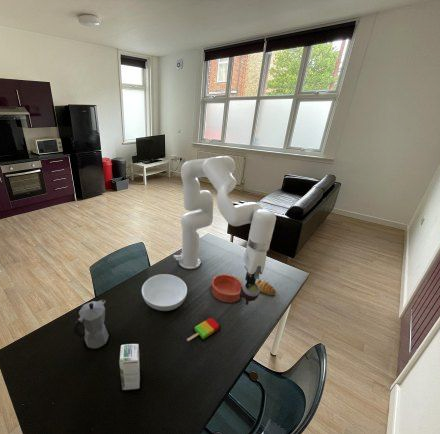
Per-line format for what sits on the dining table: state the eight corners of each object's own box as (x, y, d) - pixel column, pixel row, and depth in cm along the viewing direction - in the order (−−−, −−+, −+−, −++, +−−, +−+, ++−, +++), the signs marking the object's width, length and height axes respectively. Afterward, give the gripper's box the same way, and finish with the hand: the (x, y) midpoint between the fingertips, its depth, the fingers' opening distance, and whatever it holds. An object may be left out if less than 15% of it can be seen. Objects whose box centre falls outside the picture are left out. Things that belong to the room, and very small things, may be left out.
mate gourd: (255, 307, 96) (266, 286, 86) (235, 302, 98) (243, 280, 88) (255, 292, 102) (265, 270, 92) (236, 287, 103) (244, 265, 94)
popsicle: (220, 328, 98) (220, 325, 97) (191, 347, 90) (191, 344, 89) (210, 319, 102) (211, 316, 101) (182, 336, 94) (182, 333, 94)
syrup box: (123, 372, 82) (119, 344, 75) (140, 371, 82) (138, 342, 76) (122, 390, 77) (118, 361, 70) (140, 389, 77) (138, 360, 71)
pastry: (277, 291, 117) (278, 285, 115) (271, 298, 113) (273, 292, 111) (258, 282, 123) (260, 276, 121) (252, 288, 119) (254, 282, 117)
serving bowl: (137, 290, 118) (137, 279, 115) (177, 281, 124) (177, 270, 121) (148, 322, 100) (148, 310, 97) (194, 310, 106) (194, 299, 103)
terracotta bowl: (213, 302, 111) (214, 294, 108) (209, 281, 124) (210, 273, 122) (245, 303, 110) (246, 295, 108) (237, 282, 123) (239, 274, 121)
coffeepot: (100, 321, 101) (95, 288, 93) (117, 331, 96) (113, 298, 89) (70, 349, 89) (61, 315, 82) (87, 363, 85) (80, 327, 77)
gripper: (243, 232, 94) (236, 269, 102) (254, 254, 80) (245, 295, 89) (262, 232, 94) (254, 269, 102) (276, 255, 80) (265, 296, 88)
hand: (250, 281), depth 95 cm, fingers closed on mate gourd, 1 cm apart
